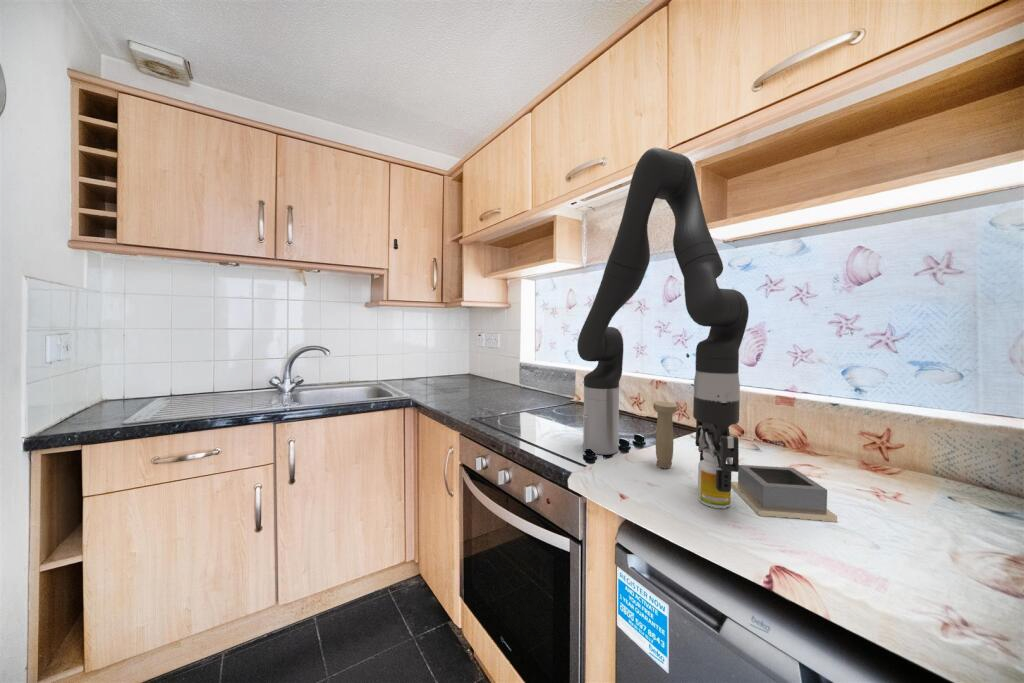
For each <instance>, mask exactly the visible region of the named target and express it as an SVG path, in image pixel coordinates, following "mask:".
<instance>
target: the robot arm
mask: <svg viewBox="0 0 1024 683" xmlns="http://www.w3.org/2000/svg"><path fill="white" fill-rule="evenodd" d="M698 186H699V185H698V181H697V176H696V172H695V169H694V165H693V162H692V161H691V159H690V158H689V157H688V156H686V155H684V154H682V153H678V152H674V151H670V150H668V149H665V148H660V147H652V148H649V149H647V150H646V151H645V152H643V154H642V155H641V156H640V158H639V159H638V161H637V163H636V166H635V168H634V171H633V172H632V177H631V180H630V185H629V188H628V193H627V196H626V201H625V205H624V208H623V213H622V217H621V220H620V223H619V228H618V230H617V234H616V235H615V236H616V237H615V239H614V242H613V246H612V248H611V251H610V254H609V255H608V256H609V257H608V259H607V263H606V264H605V267H604V268H605V269H604V271H603V275H602V278H601V281H600V284H599V287H598V289H597V292H596V295H595V298H594V299H593V300H594V301H593V302H592V305H591V307H590V310H589V311H588V314H587V316H586V319H585V320H584V323H583V325H582V327H581V329H580V332H579V335H578V339H577V348H576V349H577V353H578V356H579V358H580V359H582V360H583V361H585V362H597V365H596V367H595V368H594V369H593V370H592V371H590V372H588V373H587V374H585V375H584V377H583V412H582V413H583V416H582V417H583V420H582V422H583V424H582V425H583V426H582V428H583V431H582V432H583V433H582V434H583V435H582V439H583V441H582V446H583V452H584V453H585V451H586V449H591V450H592V451H593V452H594V453H595V454H596V455H605V456H606V455H614V454H617V453H618V452H619V445H620V444H619V434H620V433H619V432H620V430H619V427H620V426H619V425H620V424H619V423H620V422H619V420H620V417H619V416H620V411H619V410H620V381H621V378H622V374H623V364H624V339H623V335H622V333H621V331H620V330H619V329H618V328H616V327H614V326H609V325H610V322H611V321H612V319H613V318H614V317H615V315H616V313H617V312H619V311H620V309H621V308H622V307H623V306H624V305H625V304H626V303H627V302H628V301H629V300H631V298H632V297H633V296H634V295H635V294H636V292H638V290H639V289H640V287H641V285H642V283H643V280H644V278H645V275H646V272H647V270H648V266H650V265H649V264H650V260H651V250H650V240H649V234H648V233H649V232H648V225H649V219H650V215H651V211H652V208H653V207H654V203H655V201H656V200H657V199H659V200H663V201H664V200H665V202H666V203H667V204H668V206H669V208H670V210H671V211H672V213H673V216H674V223H675V225H674V230H673V236H672V245H673V246H672V247H673V252H674V256H675V258H676V262H677V264H678V266H679V269H680V272H681V274H682V276H683V287H684V288H683V290H684V291H683V292H684V300H685V308H686V310H687V314H688V315H689V317H690V319H691V320H692V321H693V322H694V323H696V324H697V325H699V326H701V327H709V332H708V336H707V337H706V339H703V340H701V341H698V342H697V345H696V348H695V373H694V378H693V379H694V380H693V401H692V402H693V406H692V407H693V408H692V409H693V410H692V411H693V412H692V414H693V415H692V417H693V418H694V419H695V422H696V425H695V427H696V428H695V442H694V443H695V446H696V447H698V449H697V450H698V452H699V453H700V454H699V462H700V461H701V460H704V458H703V450H704V449H710V453H711V457H713V458H714V459H715V463H716V468H717V469H716V488H717V490H718V491H720V492H730V491H732V487H731V482H732V472H735V473H738V471H739V465H740V464H739V461H740V459H739V458H740V457H739V454H740V452H739V446H740V445H739V438H738V436H734V435H731V432H730V426H732V425H734V426H735V425H737V424H738V423H740V402H741V401H740V398H741V396H740V394H741V385H740V384H741V383H740V377H739V376H740V374H739V368H740V365H739V363H740V362H739V359H740V347H741V344H742V341H743V339H744V335H745V332H746V328H747V324H748V320H749V312H750V311H749V304H748V300H747V298H746V297H745V295H744V294H743V293H742V292H741V291H738V290H736V289H730V288H720V287H719V285H718V281H717V278H719V277H720V276H721V275H722V274H723V271H724V264H723V261H722V258H721V256H720V254H719V251H718V249H717V247H716V244H715V242H714V239H713V237H712V236H711V235H712V234H711V233H710V230H709V227H708V223H707V221H706V216H705V213H704V209H703V205H702V200H701V197H700V196H701V195H700V191H699V187H698ZM594 453H593V454H594ZM726 460H727V462H726ZM726 463H727V464H726Z"/></svg>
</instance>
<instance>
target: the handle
mask: <svg viewBox="0 0 1024 683" xmlns="http://www.w3.org/2000/svg"><path fill="white" fill-rule="evenodd" d="M652 406H653V410H654V411H655V412H656V413H657V415H656V416H657V419H656V433H655V457H656V465H657V466H656V467H659V468H662V469H670V468H671V467H672V464H673V462H672V461H673V456H674V428H673V423H674V421H673V416H674V415H673V414H675V413H676V412H678V405H677V403H674V402H671V401H665V400H664V401H663V400H662V401H661V400H660V401H658V400H656V401H653V405H652Z"/></svg>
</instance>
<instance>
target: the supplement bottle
mask: <svg viewBox="0 0 1024 683" xmlns="http://www.w3.org/2000/svg"><path fill="white" fill-rule="evenodd" d="M703 458H704V460H701V461H700V460H699V462H698V466H697V467H698V468H697V470H698V472H697V473H698V475H697V476H698V478H697V499H698V501H699V502H700V503H701V504H703V505H705V506H707V507H709V506H710V508H713V507H714V509H719V508H723V509H727V507H728V508H729V507H730V506H731V491H732V490H731V491H730V492H720V491H718V490H717V488H716V469H717V468H716V463H715V459H714V458H713V457H711V453H710V449H704V450H703ZM726 464H727V460H726Z"/></svg>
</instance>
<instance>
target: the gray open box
mask: <svg viewBox="0 0 1024 683" xmlns="http://www.w3.org/2000/svg"><path fill="white" fill-rule="evenodd" d="M731 489H732V490H734V492H735V493H737V495H738V494H739V495H740V496H741V497H742V498H743V499H744V500H745V501H746V502H747V503H748V504H749V505H750V506H751V507H752V508H751V507H750V506H749V505H748V504H747V503H746V502H745V501H744V500H743V499H742V498H741V497H740V496H739V495H738V496H739V497H740V498H741V499H742V500H743V501H744V502H745V503H746V504H747V505H748V506H749V507H750V508H751V509H752V510H753V511H754V513H756V514H757V515H758V516H759V515H760V516H759V517H768V516H776V517H775V518H781V517H788V518H787V519H793V518H800V519H799V520H806V519H811V520H810V521H819V520H822V521H821V522H834V523H838V515H836V513H834V512H833V511H831V510H830V509H829V508H828V489H826V488H825V487H823V486H822V485H820V484H819V483H817V482H816V481H814V480H813V479H811V478H810V477H808V476H807V475H804V474H803V473H802V472H800V471H799V470H797V469H795V467H786V466H784V467H783V466H767V465H766V466H765V465H752V464H751V465H750V464H749V465H748V464H739V471H738V472H737V481H731Z"/></svg>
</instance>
